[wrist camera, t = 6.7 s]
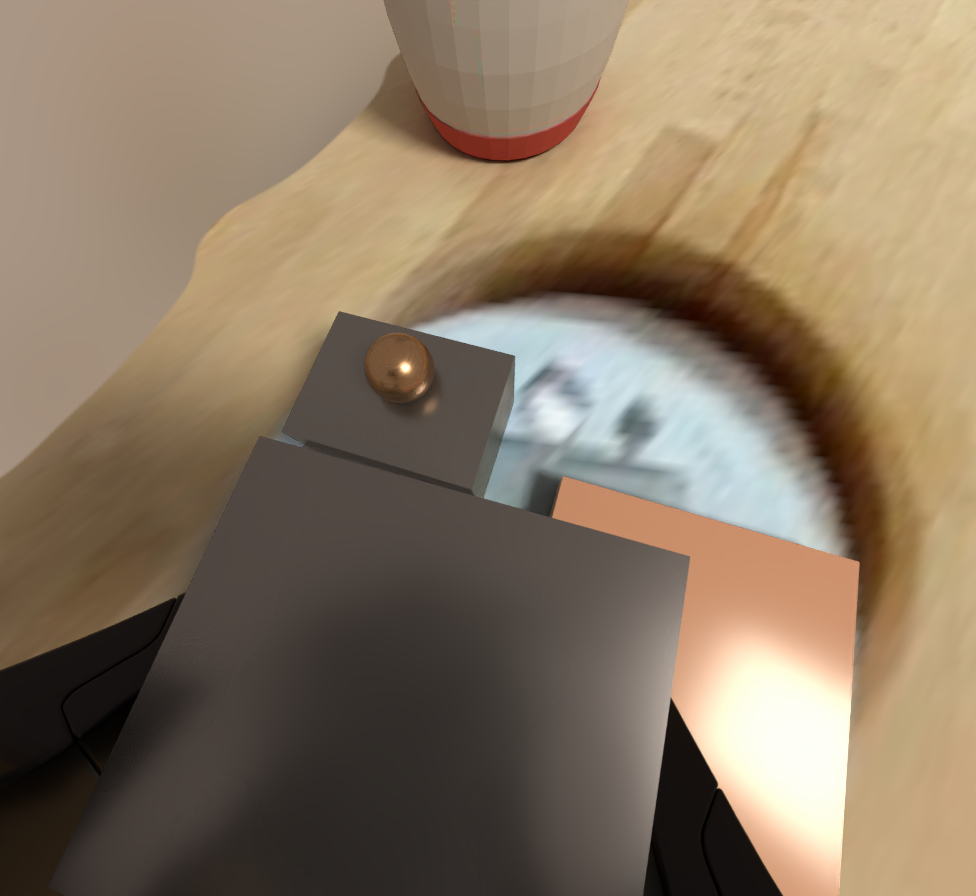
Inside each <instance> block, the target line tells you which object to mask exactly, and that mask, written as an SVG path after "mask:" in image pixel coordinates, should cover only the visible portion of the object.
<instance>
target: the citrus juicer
mask: <svg viewBox="0 0 976 896" xmlns="http://www.w3.org/2000/svg"><path fill="white" fill-rule="evenodd" d="M628 1H629V0H384V3H385V7H386V11H387V15H388V18H389V20H390V23H391V26H392V29H393V32H394V34H395V37H396V40H397V43H398V46H399V48H400V51H401V54H402V57H403V59H404V62H405V65H406V67H407V70H408V72H409V74H410V76H411V78H412V81H413V83H414V85H415V89H416V91H417V94H418V97H419V99H420V102H421V103H422V105H423V107H424V109H425V111H426V112H427V114H428V116H429V117H430V119H431V121H432V122H433V124H434V126H435V127H436V129H437V130H438V131H439V133H440V134H441V136H442V137H443V138H444V139H445V140H446V141H447V142H449V143H450V144H451V145H452V146H454V147H455V148H457V149H459V150H461V151H462V152H464V153H467V154H469V155H473V156H476V157H480V158H486V159H491V160H513V159H520V158H526V157H530V156H533V155H537V154H540V153H542V152H544V151H546V150H548V149H550V148H553V147H554V146H556V145H557V144H558V143H560V142H561V141H563V140H564V139H565V138H566V137H567V136H568V135H569V134H570V133H571V132H572V131H573V130H574V129H575V127H576V125H577V124H578V122H579V121H580V119H581V117H582V116H583V114H584V112H585V110H586V109H587V107H588V105H589V103H590V102H591V100H592V98H593V96H594V94H595V92H596V90H597V88H598V84H599V81H600V78H601V75H602V73H603V71H604V68H605V66H606V64H607V62H608V59H609V57H610V55H611V52H612V49H613V46H614V43H615V40H616V38H617V35H618V32H619V29H620V26H621V23H622V20H623V17H624V14H625V11H626V8H627V5H628Z"/></svg>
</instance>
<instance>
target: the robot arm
mask: <svg viewBox="0 0 976 896" xmlns="http://www.w3.org/2000/svg"><path fill="white" fill-rule="evenodd" d="M185 594H186V592H185V593H183V594H181V595H179V596H178V597H177V599H176V598H172V599H170V600H168V601H166V602H163V603H161V604H159V605H157V606H155V607H153V608H151V609H148V610H146V611H144V612H142V613H139V614H137V615H135V616H133V617H130V618H128V619H126V620H124V621H121V622H119V623H117V624H115V625H112V626H110V627H108V628H105V629H103V630H100V631H98V632H95V633H93V634H91V635H88V636H86V637H83V638H81V639H78V640H76V641H74V642H71V643H69V644H66V645H64V646H61V647H59V648H56V649H54V650H51V651H48V652H46V653H43V654H41V655H38V656H36V657H33V658H31V659H28V660H26V661H23V662H21V663H18V664H16V665H13V666H11V667H8V668H5V669H3V670H0V896H64V895H62V894H60V893H58V892H56V891H54V890H52V889H50V888H48V886H49V883H50V881H51V879H52V877H53V875H54V873H55V871H56V869H57V866H58V864H59V862H60V860H61V858H62V856H63V854H64V852H65V849H66V847H67V845H68V843H69V841H70V839H71V837H72V835H73V832H74V830H75V828H76V826H77V824H78V822H79V820H80V817H81V815H82V813H83V811H84V809H85V807H86V805H87V803H88V800H89V798H90V796H91V794H92V792H93V790H94V788H95V786H96V783H97V781H98V779H99V777H100V775H101V773H102V771H103V769H104V766H105V764H106V762H107V760H108V758H109V756H110V754H111V752H112V749H113V747H114V745H115V743H116V741H117V739H118V737H119V735H120V732H121V730H122V728H123V726H124V724H125V722H126V720H127V718H128V715H129V713H130V711H131V709H132V707H133V705H134V703H135V701H136V698H137V696H138V694H139V692H140V690H141V688H142V686H143V683H144V681H145V679H146V677H147V675H148V673H149V671H150V669H151V666H152V664H153V662H154V660H155V658H156V656H157V654H158V652H159V649H160V647H161V645H162V643H163V641H164V639H165V637H166V635H167V632H168V630H169V628H170V626H171V624H172V622H173V620H174V618H175V615H176V613H177V611H178V609H179V607H180V605H181V603H182V601H183V598H184V596H185ZM643 896H783V894H782V893H781V891H780V889H779V888H778V886H777V884H776V883H775V881H774V880H773V878H772V876H771V875H770V873H769V871H768V870H767V868H766V867H765V865H764V863H763V861H762V860H761V858H760V856H759V854H758V853H757V851H756V849H755V847H754V846H753V844H752V842H751V840H750V839H749V837H748V835H747V833H746V832H745V830H744V828H743V826H742V825H741V823H740V821H739V819H738V818H737V816H736V814H735V812H734V810H733V809H732V807H731V805H730V803H729V801H728V799H727V798H726V796H725V794H724V792H723V790H722V789H720V788H718V782H717V780H716V778H715V776H714V774H713V772H712V771H711V769H710V767H709V765H708V763H707V762H706V760H705V758H704V756H703V754H702V752H701V751H700V749H699V747H698V745H697V743H696V742H695V740H694V738H693V736H692V734H691V732H690V731H689V729H688V727H687V725H686V723H685V721H684V720H683V718H682V716H681V714H680V712H679V711H678V709H677V707H676V705H675V703H674V701H673V700H672V698H671V699H670V706H669V713H668V720H667V727H666V734H665V741H664V748H663V756H662V763H661V770H660V777H659V784H658V791H657V798H656V805H655V813H654V820H653V827H652V834H651V841H650V848H649V855H648V862H647V869H646V877H645V884H644V891H643Z"/></svg>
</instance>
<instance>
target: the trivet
mask: <svg viewBox="0 0 976 896" xmlns="http://www.w3.org/2000/svg"><path fill="white" fill-rule="evenodd" d="M550 517H551V518H555V519H558V520H562V521H566V522H569V523H573V524H576V525H580V526H583V527H587V528H591V529H594V530H598V531H601V532H605V533H608V534H612V535H616V536H619V537H623V538H626V539H630V540H633V541H637V542H641V543H644V544H648V545H651V546H655V547H659V548H662V549H666V550H669V551H673V552H676V553H680V554H684V555H687V556H690V563H689V570H688V578H687V585H686V592H685V599H684V606H683V613H682V620H681V627H680V635H679V642H678V649H677V656H676V663H675V670H674V677H673V684H672V691H671V698H672V700H673V701H674V703H675V705H676V707H677V709H678V711H679V712H680V714H681V716H682V718H683V720H684V721H685V723H686V725H687V727H688V729H689V731H690V732H691V734H692V736H693V738H694V740H695V742H696V743H697V745H698V747H699V749H700V751H701V752H702V754H703V756H704V758H705V760H706V762H707V763H708V765H709V767H710V769H711V771H712V772H713V774H714V776H715V778H716V780H717V782H718V788H720V789H722V790H723V792H724V794H725V796H726V798H727V799H728V801H729V803H730V805H731V807H732V809H733V810H734V812H735V814H736V816H737V818H738V819H739V821H740V823H741V825H742V826H743V828H744V830H745V832H746V833H747V835H748V837H749V839H750V840H751V842H752V844H753V846H754V847H755V849H756V851H757V853H758V854H759V856H760V858H761V860H762V861H763V863H764V865H765V867H766V868H767V870H768V871H769V873H770V875H771V876H772V878H773V880H774V881H775V883H776V884H777V886H778V888H779V889H780V891H781V893H782V894H783V896H839V885H840V869H841V852H842V836H843V820H844V804H845V788H846V771H847V755H848V739H849V723H850V707H851V690H852V674H853V658H854V642H855V626H856V609H857V593H858V577H859V562H857V561H854V560H850V559H847V558H844V557H840V556H837V555H833V554H830V553H826V552H823V551H819V550H816V549H813V548H809V547H806V546H802V545H799V544H795V543H792V542H788V541H785V540H782V539H778V538H775V537H771V536H768V535H764V534H761V533H757V532H754V531H751V530H747V529H744V528H740V527H737V526H733V525H730V524H726V523H723V522H720V521H716V520H713V519H709V518H706V517H702V516H699V515H695V514H692V513H689V512H685V511H682V510H678V509H675V508H671V507H668V506H664V505H661V504H657V503H654V502H651V501H647V500H644V499H640V498H637V497H633V496H630V495H626V494H623V493H620V492H616V491H613V490H609V489H606V488H602V487H599V486H595V485H592V484H589V483H585V482H582V481H578V480H575V479H571V478H568V477H564V476H563V477H562V479H561V480H560V482H559V483H558V487H557V491H556V494H555V498H554V502H553V505H552V509H551V513H550Z"/></svg>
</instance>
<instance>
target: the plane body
mask: <svg viewBox="0 0 976 896" xmlns="http://www.w3.org/2000/svg"><path fill="white" fill-rule="evenodd" d="M514 377H515V356H513V355H509V354H505V353H502V352H498V351H494V350H490V349H486V348H482V347H478V346H474V345H470V344H466V343H462V342H458V341H454V340H450V339H446V338H442V337H438V336H434V335H430V334H427V333H423V332H419V331H415V330H411V329H407V328H403V327H399V326H395V325H391V324H387V323H383V322H379V321H375V320H371V319H367V318H363V317H359V316H356V315H352V314H348V313H344V312H340V311H339V312H338V314H337V316H336V318H335V320H334V322H333V325H332V327H331V329H330V331H329V333H328V335H327V337H326V339H325V341H324V344H323V346H322V348H321V350H320V352H319V354H318V356H317V358H316V360H315V363H314V365H313V367H312V369H311V371H310V373H309V375H308V377H307V379H306V382H305V384H304V386H303V388H302V390H301V392H300V394H299V396H298V398H297V400H296V403H295V405H294V407H293V409H292V411H291V413H290V415H289V417H288V419H287V422H286V424H285V426H284V428H283V430H282V432H283V433H285V434H286V435H288V436H290V437H292V438H293V439H295V440H297V441H299V442H300V443H302V444H304V446H303V448H304V449H308V450H311V451H315V452H319V453H322V454H326V455H329V456H333V457H337V458H340V459H344V460H347V461H351V462H354V463H358V464H362V465H365V466H369V467H372V468H376V469H379V470H383V471H387V472H390V473H394V474H397V475H401V476H405V477H408V478H412V479H415V480H419V481H422V482H426V483H430V484H433V485H437V486H440V487H444V488H447V489H451V490H455V491H458V492H462V493H465V494H469V495H472V496H476V497H480V498H484V494H485V491H486V488H487V485H488V482H489V479H490V476H491V472H492V469H493V466H494V463H495V460H496V457H497V454H498V450H499V447H500V444H501V441H502V438H503V435H504V431H505V428H506V425H507V422H508V419H509V416H510V413H511V409H512V406H513V403H514Z"/></svg>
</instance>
